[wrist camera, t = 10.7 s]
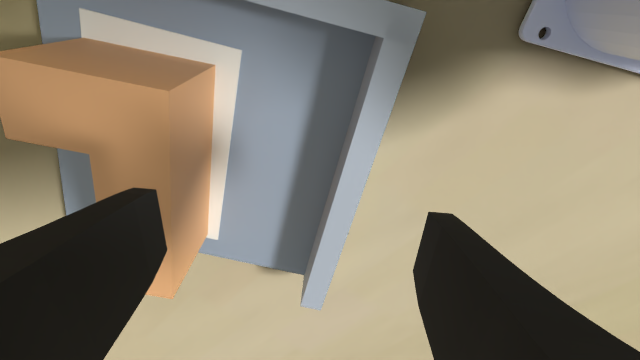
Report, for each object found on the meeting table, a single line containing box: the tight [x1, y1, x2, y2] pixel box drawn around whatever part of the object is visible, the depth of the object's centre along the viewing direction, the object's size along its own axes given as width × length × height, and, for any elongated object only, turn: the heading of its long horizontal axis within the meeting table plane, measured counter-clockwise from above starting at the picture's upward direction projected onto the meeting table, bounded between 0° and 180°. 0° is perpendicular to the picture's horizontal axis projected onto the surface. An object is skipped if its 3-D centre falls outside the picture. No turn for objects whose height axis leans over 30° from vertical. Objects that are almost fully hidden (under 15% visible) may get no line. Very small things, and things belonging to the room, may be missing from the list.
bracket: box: [0, 38, 216, 299], centre depth 16 cm, size 10×6×5 cm, turn 169°
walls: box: [246, 0, 427, 310], centre depth 17 cm, size 16×16×4 cm
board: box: [36, 0, 376, 275], centre depth 18 cm, size 16×16×1 cm
